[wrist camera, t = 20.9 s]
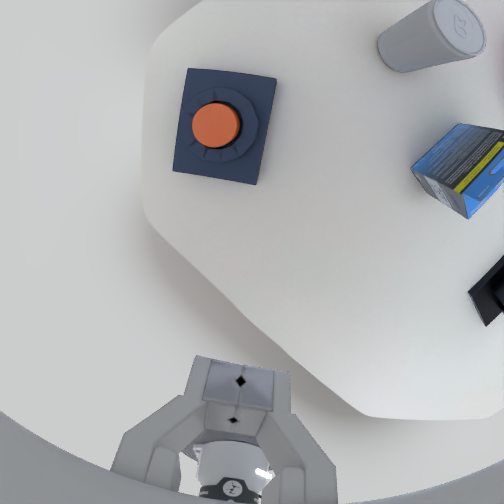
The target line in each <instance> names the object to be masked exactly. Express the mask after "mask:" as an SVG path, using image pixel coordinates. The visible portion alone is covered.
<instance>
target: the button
mask: <svg viewBox="0 0 504 504" xmlns="http://www.w3.org/2000/svg"><path fill="white" fill-rule="evenodd" d="M239 127H240V122H239V118H238V115H237V114H236V112H235V111H234V110H233V109H232V108H230V107H229V106H226V105H223V104H218V103H212V104H208V105H205V106H203V107H202V108H200V109H199V110H198V111H197V113H196V114H195V116H194V118H193V122H192V130H193V133H194V136H195V137H196V139H197V140H198V141H199V142H200V143H202V144H203V145H205V146H208V147H220V146H223V145H225V144H227V143H229V142H231V141H232V140H233V139H234V138H235V137H236V135H237V134H238V131H239Z"/></svg>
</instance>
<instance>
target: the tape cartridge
mask: <svg viewBox="0 0 504 504" xmlns="http://www.w3.org/2000/svg"><path fill="white" fill-rule="evenodd" d="M411 170H412V172H413V173H414V175H415V176H416V178H417V179H418V180H419V182H420V183H421V185H422V186H423V188H424V189H425V191H426V192H427V193H428V194H429V195H431V196H432V197H434V198H435V199H437V200H439V201H440V202H442V203H443V204H445V205H447V206H448V207H450V208H451V209H453V210H454V211H456V212H457V213H459V214H461V215H462V216H463V217H465V218H466V219H469V218H470V217H471V216H472V215H473V214H474V213H475V212H476V211H477V210H478V209H479V208H480V207H481V206H482V205H483V204H484V203H485V202H486V201H487V200H488V199H489V198H490V196H491V195H492V194H493V193H494V192H495V191H496V190H497V189H498V188H499V187H500V185H501V184H502V183H503V182H504V130H498V129H493V128H487V127H481V126H475V125H468V124H462V123H460V124H458V125H457V126H456V127H455V128H454V129H453V130H451V131H450V132H449V133H448V134H447V135H446V136H445V137H444V138H443V139H442V140H441V141H440V142H439V143H437V144H436V145H435V146H434V147H433V148H432V149H431V150H430V151H429V152H428V153H427V154H425V155H424V156H423V157H422V158H421V159H420V160H419V161H418V162H417V163H416V164H415V165H414V166H412V167H411Z"/></svg>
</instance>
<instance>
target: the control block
mask: <svg viewBox="0 0 504 504" xmlns="http://www.w3.org/2000/svg"><path fill="white" fill-rule="evenodd" d="M276 84H277V79H275V78H270V77H264V76H258V75H251V74H244V73H237V72H229V71H219V70H209V69H195V68H188V70H187V75H186V80H185V86H184V92H183V98H182V104H181V110H180V116H179V123H178V130H177V138H176V145H175V153H174V162H173V171H175V172H182V173H188V174H195V175H201V176H207V177H213V178H219V179H225V180H231V181H236V182H242V183H247V184H252V185H256V183H257V180H258V175H259V170H260V165H261V160H262V154H263V149H264V144H265V139H266V134H267V129H268V124H269V119H270V114H271V109H272V104H273V99H274V94H275V89H276ZM212 103H218V104H223V105H226V106H229V107H230V108H232V109H233V110H234V111H235V112H236V114H237V115H238V118H239V122H240V127H239V131H238V134H237V135H236V137H235V138H234V139H233V140H232V141H231V142H229V143H227V144H225V145H223V146H220V147H208V146H205V145H203V144H202V143H200V142H199V141H198V140H197V139H196V137H195V136H194V133H193V130H192V122H193V118H194V116H195V114H196V113H197V111H198V110H199V109H200V108H202V107H203V106H205V105H208V104H212Z"/></svg>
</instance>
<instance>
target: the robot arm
mask: <svg viewBox="0 0 504 504" xmlns="http://www.w3.org/2000/svg"><path fill="white" fill-rule="evenodd" d="M204 428H205V429H211V430H217V431H223V432H230V433H236V434H241V435H247V436H254V437H255V438H256V440H257V442H258V444H259V446H260V447H258V446H255V445H252V444H248V443H243V442H237V441H213V442H209V443H205V444H194V445H193V450H194V452H195V454H196V456H197V458H198V460H199V462H198V468H197V473H196V477H197V478H198V480H199V481H200V483H201V485H202V487H201V489H200V493H199V497H198V496H193V495H188V494H184V493H179V492H178V490H179V485H180V481H181V471H180V462H179V454H178V453H180V452H181V451H182V450H183V449H184V448H185V447H186V446H187V445H188V444H189V443H190V442H192V441H193V440H194V439H195V438H196V437H197V436H198V435H199V434H200V433H201V432H202V431H203V430H204ZM269 466H271V468H272V469H273V471H274V473H275V475H276V476H275V477H274V478H273V479H272V480H271V481H270V482H269V483H268V484H267V478H269V479H271V478H272V476H271V475H270V474H268V469H269ZM261 490H262V496H260V495H258V493H259V491H261ZM258 497H259V498H261V504H338V495H337V479H336V466H335V465H334V464H333V463H332V462H331V460H330V459H329V458H328V457H327V455H326V454H325V453H324V451H323V450H322V449H321V447H320V446H319V445H318V444H317V442H316V441H315V440H314V438H313V437H312V436H311V434H310V433H309V432H308V430H307V429H306V428H305V426H304V425H303V424H302V422H301V421H300V420H299V418H298V417H297V416H296V414H291V396H290V373H289V372H288V371H280V370H273V369H268V368H260V367H254V366H247V365H239V364H234V363H229V362H224V361H220V360H215V359H210V358H205V357H202V356H197V355H196V357H195V359H194V362H193V365H192V368H191V372H190V375H189V378H188V382H187V385H186V389H185V392H184V396H182V395H178V396H177V397H175V398H174V399H172V400H171V401H170V402H168V403H167V404H166V405H164V406H163V407H162V408H160V409H159V410H157V411H156V412H154V413H153V414H152V415H150V416H149V417H148V418H146V419H145V420H143V421H142V422H140V423H139V424H137V425H136V426H134V427H133V428H131V429H130V430H128V431H127V432H125V433H124V435H123V437H122V440H121V443H120V445H119V448H118V451H117V453H116V456H115V459H114V461H113V464H112V467H111V469H110V471H109V470H106V469H104V468H101V467H99V466H97V465H94V464H92V463H90V462H87V461H85V460H83V459H81V458H79V457H77V456H75V455H73V454H71V453H69V452H67V451H65V450H63V449H61V448H59V447H57V446H55V445H53V444H51V443H50V442H48V441H46V440H44V439H43V438H41V437H39V436H38V435H36V434H34V433H33V432H31V431H29V430H28V429H26V428H25V427H23V426H22V425H20V424H19V423H17V422H15V421H14V420H13V419H11V418H10V417H8V416H7V415H5V414H4V413H3V412H1V411H0V504H258ZM348 504H504V460H502V461H500V462H498V463H495V464H493V465H491V466H489V467H487V468H484V469H482V470H480V471H477V472H475V473H472V474H470V475H467V476H464V477H462V478H459V479H456V480H453V481H450V482H447V483H444V484H441V485H438V486H435V487H431V488H428V489H424V490H420V491H416V492H412V493H409V494H404V495H399V496H394V497H389V498H384V499H378V500H371V501H365V502H357V503H348Z"/></svg>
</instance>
